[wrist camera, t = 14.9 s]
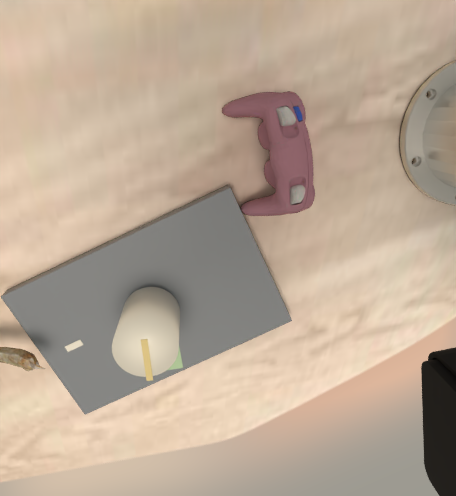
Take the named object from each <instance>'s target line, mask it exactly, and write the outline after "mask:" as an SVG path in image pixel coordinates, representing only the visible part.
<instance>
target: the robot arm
mask: <svg viewBox="0 0 456 496" xmlns="http://www.w3.org/2000/svg"><path fill="white" fill-rule="evenodd" d="M427 92H428V96H427V97H426V93H427ZM400 151H401V158H402V161H403V165H404V168H405V170H406V172H407V174H408V176H409V178H410V180H411V181H412V182H413V183H414V185H415V186H416V187H417V188H418V189H419V190H420V191H422V192H423V193H424V194H425V195H427V196H429V197H431V198H433V199H435V200H437V201H440V202H443V203H446V204H450V205H456V61H453V62H451V63H449V64H447V65H445V66H444V67H442V68H441V69H439V70H438V71H437V72H435V73H434V74H432V75H431V76H430V78H429V79H428V80H427V81H426V82H425V83H424V84H423V85H422V86H421V87H420V88H419V90H418V91H417V93H416V94H415V96H414V97H413V98H412V100H411V103H410V105H409V107H408V109H407V111H406V113H405V117H404V120H403V123H402V127H401V136H400ZM412 159H414V161H413V162H412ZM421 369H422V401H423V434H424V464H425V469H426V472H427V475H428V477H429V480H430V481H431V483H432V485H433V486H434V488H435V490H436V491H437V493H438V494H439V496H456V348H451V349H446V350H441V351H436V352H432V353H430V354H429V357H428V361H425V362H423V363H422V368H421Z"/></svg>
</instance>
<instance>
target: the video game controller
mask: <svg viewBox="0 0 456 496" xmlns="http://www.w3.org/2000/svg"><path fill="white" fill-rule="evenodd" d="M222 113H223V114H224V115H226V116H229V117H257V118H261V119H263V122H262V123H261V124H260V126H259V128H258V138H259V141H260V143H261V145H262V147H263V148H264V149H266V150H269V152H270V161H267V162H266V164H265V167H264V174H265V178H266V180H267V182H268V183H269V184H270V185H271V186H272V187H274V188H275V189H276V192H275V193H274V194H272V195H270V196H268V197H263V198H258V199H255V200H252V201H249V202H246V203H244V204H243V205H242V206H241V211H242V212H243V213H244V214H246V215H251V216H274V215H283V214H291V213H298V212H300V211H303V210H305V209H307V208H309V207H311V205H312V204H313V201H314V197H315V190H314V186H313V159H312V150H311V145H310V139H309V135H308V131H307V128H306V125H305V109H304V105H303V103H302V100H301V99H300V98H299V96H298V95H297V94H296V93H294V92H283V93H276V92H264V93H257V94H253V95H249V96H246V97H243V98H240V99H237V100H234V101H231V102H229V103H228V104H226V105H225V106H224V107H223V108H222Z"/></svg>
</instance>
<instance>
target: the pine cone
mask: <svg viewBox="0 0 456 496" xmlns="http://www.w3.org/2000/svg"><path fill="white" fill-rule="evenodd" d="M0 362H2V363H8V364H11V365H14V366H18V367H22V368H23V369H25V370H26V371H30V370H33V369H45V368H43V367H40V365H39V363H38V361H37V359H36V357H35V356H34V354H32V353H30V352H28V351H25V350H22V349H16V348H8V347H0Z"/></svg>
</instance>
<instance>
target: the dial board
mask: <svg viewBox="0 0 456 496" xmlns="http://www.w3.org/2000/svg"><path fill="white" fill-rule="evenodd" d="M145 287H158V288H161V289H164V290H166V291H168V292H169V293H171V294H172V295H173V296H174V297H175V299H176V300H177V302H178V304H179V308H180V328H179V351H178V356H177V358H176V360H175V362H174V363H173V365H172V366H171V367H170V368H169V369H168V370H166V371H165V372H163V373H161V374H159V375H155V376H153V380H152V381H147V380H146V377H140V376H135V375H132V374H130V373H128V372H126V371H125V370H123V369H122V368H121V367H120V366H119V365H118V364H117V363H116V361H115V359H114V357H113V354H112V342H113V338H114V335H115V332H116V329H117V326H118V323H119V320H120V317H121V313H122V310H123V307H124V304H125V302H126V300H127V299H128V297H129V296H130V295H131V294H132V293H133V292H135V291H137V290H139V289H141V288H145ZM1 298H2V299H3V301H4V302H5V304H6V305H7V306H8V308H9V309H10V311H11V312H12V313H13V315H14V316H15V317H16V319H17V320H18V322H19V323H20V324H21V326H22V327H23V329H24V330H25V331H26V333H27V334H28V336H29V337H30V338H31V340H32V341H33V343H34V344H35V345H36V347H37V348H38V350H39V351H40V352H41V354H42V355H43V357H44V358H45V359H46V361H47V362H48V364H49V365H50V366H51V368H52V369H53V371H54V372H55V373H56V375H57V376H58V378H59V379H60V380H61V382H62V383H63V385H64V386H65V387H66V389H67V390H68V392H69V393H70V394H71V396H72V397H73V399H74V400H75V401H76V403H77V404H78V406H79V407H80V408H81V410H82V411H83V412H84V414H87V413H90V412H92V411H94V410H96V409H98V408H101V407H103V406H105V405H107V404H109V403H112V402H114V401H116V400H118V399H120V398H123V397H125V396H127V395H129V394H132V393H134V392H136V391H138V390H140V389H143V388H145V387H147V386H149V385H151V384H154V383H156V382H158V381H160V380H162V379H165V378H167V377H169V376H171V375H173V374H176V373H178V372H180V371H182V370H184V369H187V368H189V367H191V366H193V365H195V364H198V363H200V362H202V361H204V360H207V359H209V358H211V357H213V356H215V355H218V354H220V353H222V352H224V351H226V350H229V349H231V348H233V347H235V346H237V345H240V344H242V343H244V342H246V341H248V340H251V339H253V338H255V337H257V336H259V335H262V334H264V333H266V332H268V331H271V330H273V329H275V328H277V327H279V326H282V325H284V324H286V323H288V322H290V321H292V320H291V317H290V315H289V313H288V311H287V309H286V307H285V305H284V302H283V300H282V298H281V296H280V294H279V292H278V289H277V287H276V285H275V283H274V281H273V279H272V276H271V274H270V272H269V270H268V268H267V266H266V264H265V261H264V259H263V257H262V255H261V253H260V251H259V248H258V246H257V244H256V242H255V240H254V238H253V235H252V233H251V231H250V229H249V227H248V225H247V223H246V220H245V218H244V216H243V214H242V212H241V210H240V207H239V205H238V203H237V201H236V199H235V197H234V194H233V192H232V190H231V188H230V186H229V185H227V186H225V187H222V188H220V189H218V190H216V191H214V192H212V193H210V194H208V195H206V196H204V197H201V198H199V199H197V200H195V201H193V202H191V203H189V204H187V205H185V206H183V207H180V208H178V209H176V210H174V211H172V212H170V213H168V214H166V215H164V216H162V217H159V218H157V219H155V220H153V221H151V222H149V223H147V224H145V225H143V226H141V227H138V228H136V229H134V230H132V231H130V232H128V233H126V234H124V235H122V236H120V237H117V238H115V239H113V240H111V241H109V242H107V243H105V244H103V245H101V246H99V247H96V248H94V249H92V250H90V251H88V252H86V253H84V254H82V255H80V256H78V257H75V258H73V259H71V260H69V261H67V262H65V263H63V264H61V265H59V266H57V267H54V268H52V269H50V270H48V271H46V272H44V273H42V274H40V275H38V276H36V277H33V278H31V279H29V280H27V281H25V282H23V283H21V284H19V285H17V286H15V287H12V288H10V289H8V290H7V291H6V292H5V293H4V294H3V295H2V296H1Z"/></svg>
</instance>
